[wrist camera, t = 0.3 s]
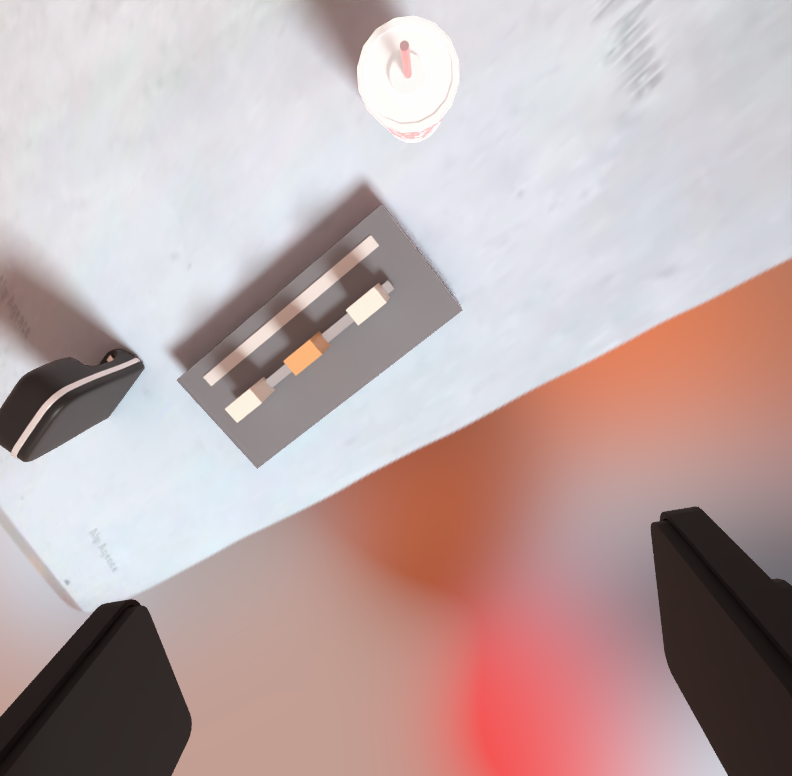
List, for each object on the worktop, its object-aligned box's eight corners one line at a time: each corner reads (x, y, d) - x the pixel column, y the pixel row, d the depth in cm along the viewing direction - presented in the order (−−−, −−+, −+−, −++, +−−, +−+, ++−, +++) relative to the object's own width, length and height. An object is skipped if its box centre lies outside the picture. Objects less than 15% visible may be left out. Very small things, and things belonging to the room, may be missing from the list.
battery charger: (113, 335, 46) (16, 365, 35) (149, 363, 47) (64, 401, 36) (73, 393, 48) (-32, 439, 37) (108, 419, 49) (15, 473, 38)
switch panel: (189, 372, 47) (175, 380, 44) (384, 206, 42) (381, 204, 40) (265, 457, 49) (256, 469, 46) (460, 306, 44) (462, 310, 42)
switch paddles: (236, 399, 44) (218, 414, 41) (386, 276, 41) (381, 280, 37) (247, 411, 45) (230, 428, 41) (397, 291, 41) (394, 296, 37)
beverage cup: (461, 140, 41) (477, 92, 27) (383, 163, 41) (362, 128, 28) (442, 52, 39) (450, -44, 26) (362, 78, 40) (328, -3, 27)
